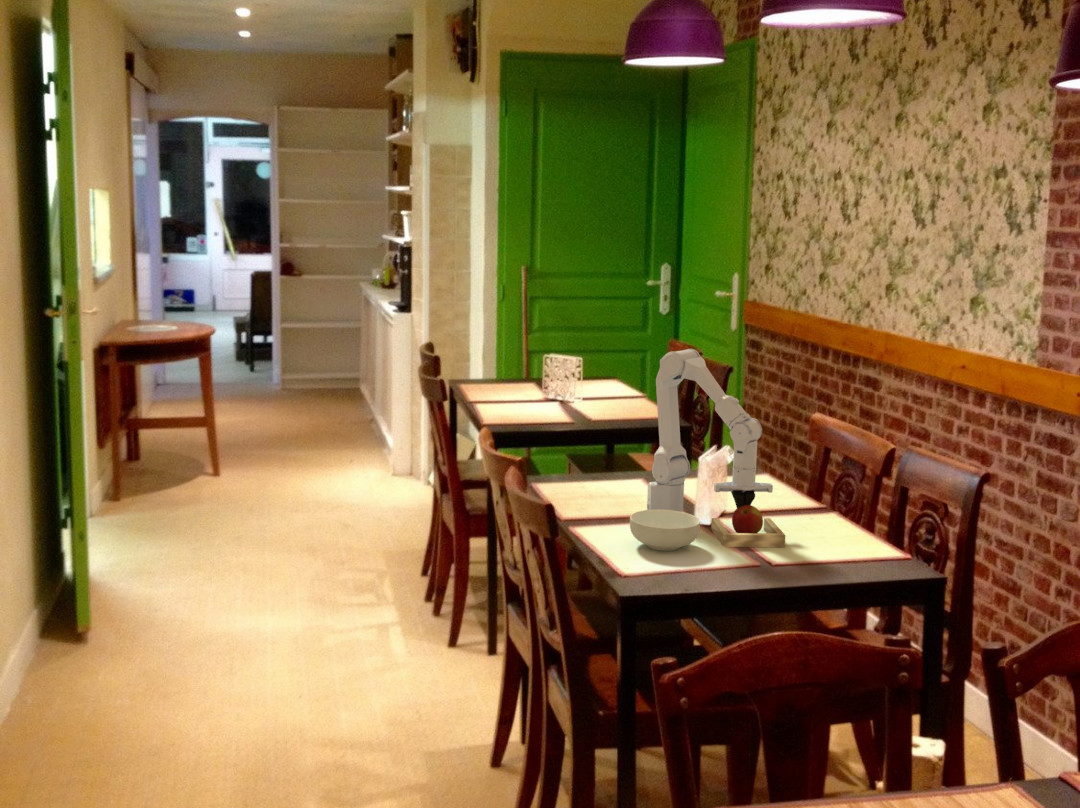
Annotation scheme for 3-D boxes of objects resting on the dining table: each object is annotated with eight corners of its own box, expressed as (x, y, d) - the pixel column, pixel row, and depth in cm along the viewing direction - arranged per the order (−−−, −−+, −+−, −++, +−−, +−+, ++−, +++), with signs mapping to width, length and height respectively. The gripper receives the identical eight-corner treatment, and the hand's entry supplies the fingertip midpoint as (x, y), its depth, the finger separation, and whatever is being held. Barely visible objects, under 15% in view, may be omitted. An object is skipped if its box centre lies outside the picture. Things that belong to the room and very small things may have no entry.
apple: (724, 533, 319) (726, 502, 318) (752, 531, 322) (754, 500, 320) (740, 542, 312) (741, 510, 311) (768, 539, 315) (770, 508, 314)
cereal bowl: (642, 558, 297) (643, 529, 296) (619, 538, 313) (620, 510, 311) (710, 554, 301) (711, 525, 300) (683, 535, 317) (685, 507, 316)
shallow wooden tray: (723, 546, 307) (724, 534, 307) (711, 529, 323) (711, 517, 322) (784, 547, 308) (785, 535, 308) (769, 529, 324) (770, 518, 323)
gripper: (719, 470, 315) (716, 523, 317) (776, 470, 316) (773, 523, 318) (713, 464, 322) (711, 516, 324) (770, 464, 323) (767, 516, 325)
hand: (741, 519), depth 322 cm, fingers closed
